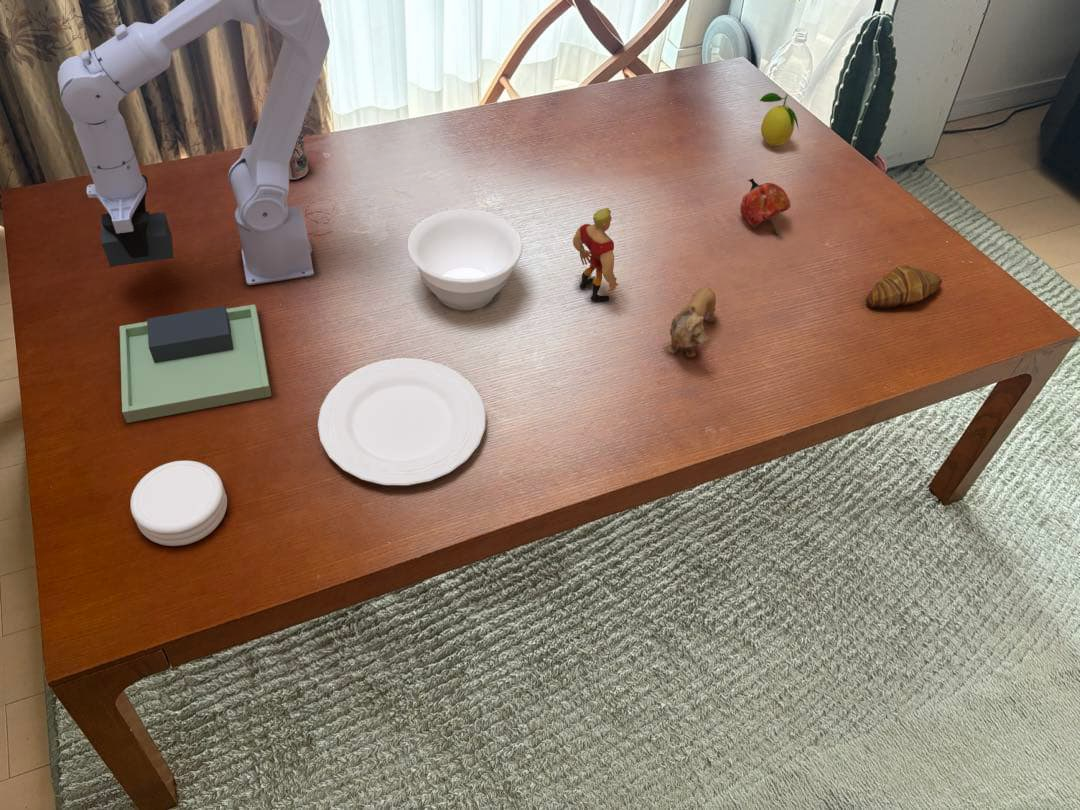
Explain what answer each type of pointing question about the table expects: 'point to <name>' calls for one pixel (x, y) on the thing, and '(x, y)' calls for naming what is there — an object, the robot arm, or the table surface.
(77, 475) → the table surface
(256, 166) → the robot arm
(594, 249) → the action figure
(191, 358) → the tray
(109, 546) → the table surface
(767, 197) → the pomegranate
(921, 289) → the croissant
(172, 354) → the pad
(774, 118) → the lemon
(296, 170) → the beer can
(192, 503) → the white short cylinder
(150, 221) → the loose pad
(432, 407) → the plate
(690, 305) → the lion figurine
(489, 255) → the bowl
